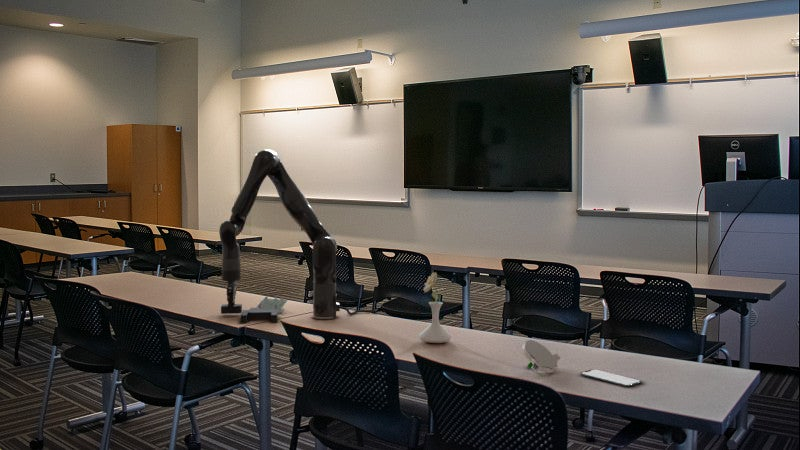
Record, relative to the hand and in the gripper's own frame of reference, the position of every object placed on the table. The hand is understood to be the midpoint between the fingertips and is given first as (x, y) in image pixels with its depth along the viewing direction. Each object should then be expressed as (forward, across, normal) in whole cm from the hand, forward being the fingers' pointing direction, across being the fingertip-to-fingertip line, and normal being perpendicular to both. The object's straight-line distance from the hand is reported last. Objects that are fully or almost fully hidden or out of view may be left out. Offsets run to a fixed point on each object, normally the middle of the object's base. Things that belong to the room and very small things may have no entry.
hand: (231, 309), depth 294 cm
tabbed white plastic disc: (+4, -96, -98) cm, 137 cm away
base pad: (+2, -11, -12) cm, 16 cm away
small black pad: (+1, 0, 0) cm, 1 cm away
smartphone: (+4, -108, -115) cm, 158 cm away
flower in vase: (+3, -57, -74) cm, 93 cm away
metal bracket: (+3, +10, -16) cm, 19 cm away
